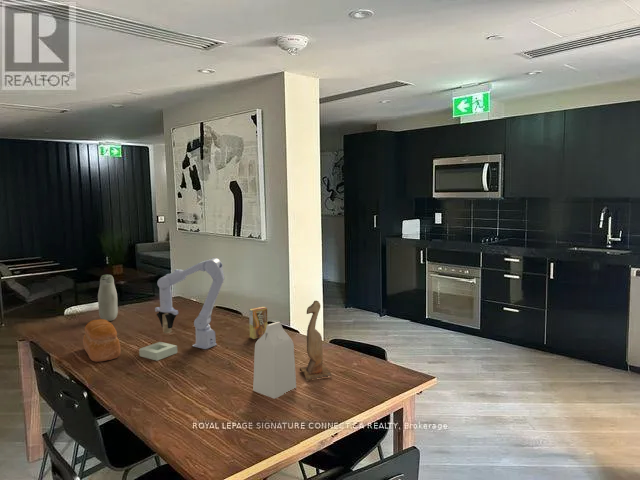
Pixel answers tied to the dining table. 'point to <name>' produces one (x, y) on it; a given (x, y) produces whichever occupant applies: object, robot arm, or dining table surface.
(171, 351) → the socket block
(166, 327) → the peg
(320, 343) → the bird sculpture
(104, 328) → the bread
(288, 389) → the milk
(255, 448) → the dining table surface
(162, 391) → the dining table surface
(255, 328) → the candy box
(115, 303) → the grey bottle
